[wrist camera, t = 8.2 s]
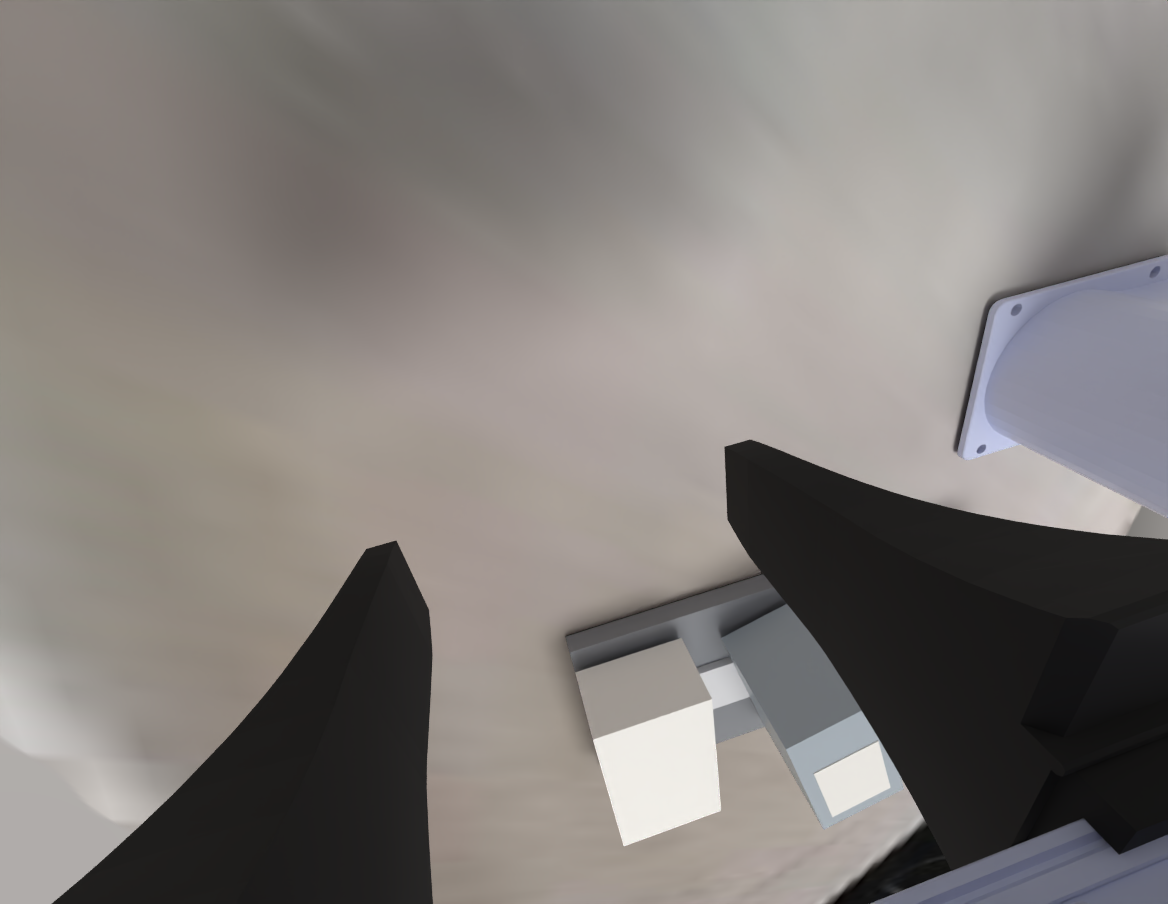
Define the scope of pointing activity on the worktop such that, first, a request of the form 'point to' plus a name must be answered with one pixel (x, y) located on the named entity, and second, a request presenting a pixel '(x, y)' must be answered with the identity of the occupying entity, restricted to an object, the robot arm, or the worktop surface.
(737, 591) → the rail board
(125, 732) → the worktop surface
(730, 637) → the block
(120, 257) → the worktop surface
